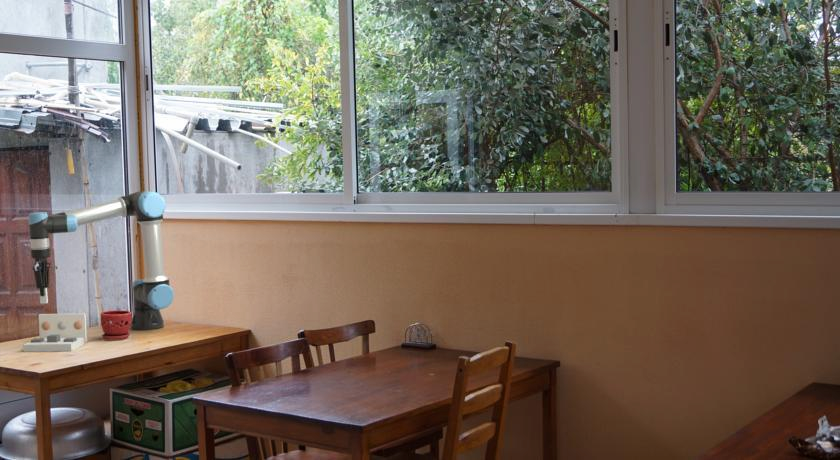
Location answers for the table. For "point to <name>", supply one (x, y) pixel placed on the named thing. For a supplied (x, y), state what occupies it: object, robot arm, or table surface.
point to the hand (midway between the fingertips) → (44, 303)
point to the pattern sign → (63, 325)
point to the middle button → (53, 338)
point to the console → (52, 345)
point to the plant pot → (116, 324)
